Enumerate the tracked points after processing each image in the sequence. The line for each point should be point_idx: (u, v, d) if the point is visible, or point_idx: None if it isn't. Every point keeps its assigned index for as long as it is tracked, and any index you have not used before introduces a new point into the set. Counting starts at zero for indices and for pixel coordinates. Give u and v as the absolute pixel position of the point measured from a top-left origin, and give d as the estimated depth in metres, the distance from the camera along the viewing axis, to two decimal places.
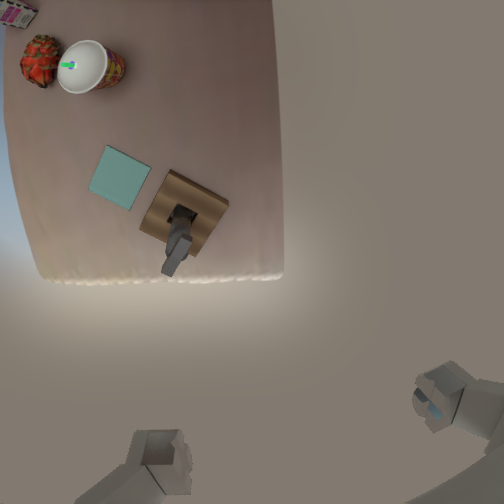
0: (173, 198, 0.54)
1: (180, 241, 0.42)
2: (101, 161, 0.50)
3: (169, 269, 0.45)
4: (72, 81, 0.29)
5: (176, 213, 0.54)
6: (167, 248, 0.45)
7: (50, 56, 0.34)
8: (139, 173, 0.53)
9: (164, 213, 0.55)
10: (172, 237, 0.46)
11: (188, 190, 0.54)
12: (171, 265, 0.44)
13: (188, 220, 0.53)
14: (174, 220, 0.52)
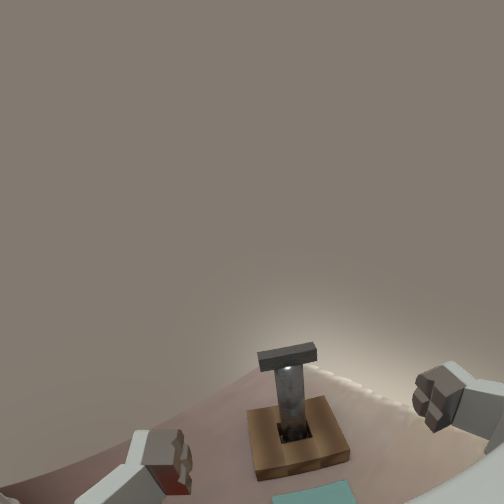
0: (280, 449, 0.34)
1: (264, 358, 0.34)
2: None
3: (305, 347, 0.35)
4: None
5: (290, 432, 0.36)
6: (291, 369, 0.33)
7: None
8: (288, 502, 0.27)
9: (305, 444, 0.34)
10: (282, 382, 0.34)
11: (259, 444, 0.36)
12: (298, 348, 0.35)
13: None
14: (289, 419, 0.35)
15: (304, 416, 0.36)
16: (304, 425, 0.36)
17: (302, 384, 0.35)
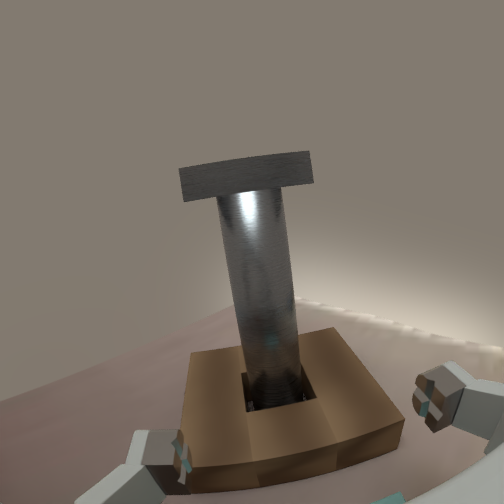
0: (241, 424, 0.16)
1: None
2: None
3: None
4: None
5: (264, 385, 0.17)
6: (253, 191, 0.15)
7: None
8: None
9: (300, 414, 0.16)
10: (234, 229, 0.15)
11: (198, 412, 0.17)
12: None
13: None
14: (260, 346, 0.17)
15: (296, 344, 0.17)
16: (297, 369, 0.18)
17: (285, 246, 0.16)
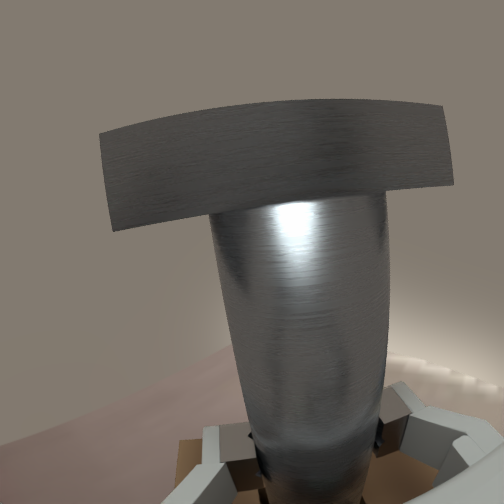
0: None
1: None
2: None
3: None
4: None
5: None
6: (326, 200, 0.04)
7: None
8: None
9: None
10: (264, 316, 0.05)
11: None
12: None
13: None
14: None
15: (363, 485, 0.07)
16: None
17: (386, 342, 0.06)
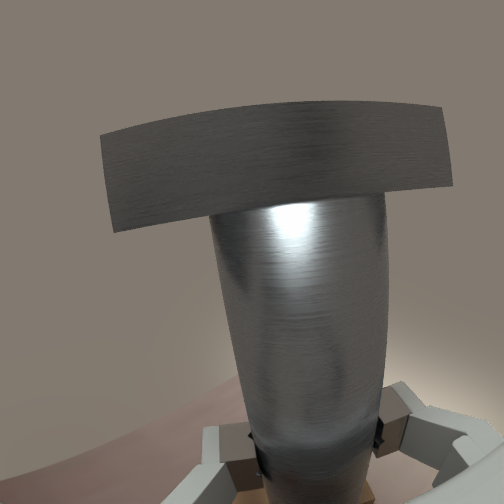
0: (265, 498, 0.19)
1: None
2: None
3: None
4: None
5: None
6: (326, 201, 0.05)
7: None
8: None
9: None
10: (263, 317, 0.05)
11: None
12: None
13: None
14: None
15: (363, 484, 0.07)
16: None
17: (385, 342, 0.06)
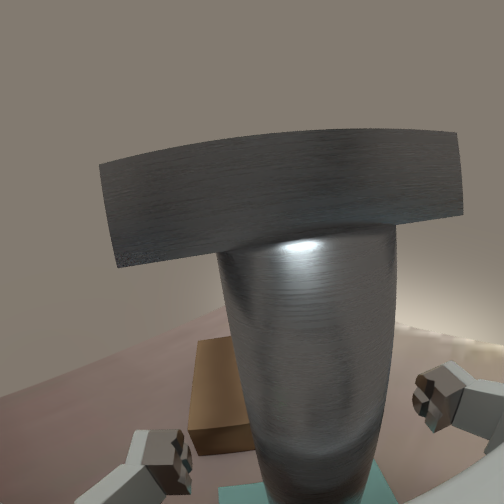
0: (241, 395, 0.20)
1: None
2: None
3: None
4: None
5: None
6: (338, 242, 0.04)
7: None
8: (251, 502, 0.13)
9: None
10: (272, 354, 0.05)
11: (205, 387, 0.22)
12: None
13: None
14: None
15: (362, 495, 0.07)
16: None
17: (389, 370, 0.06)
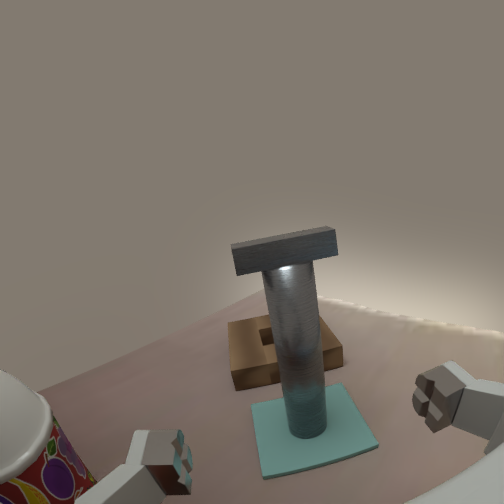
0: (261, 350, 0.35)
1: (241, 246, 0.19)
2: (303, 464, 0.19)
3: (314, 230, 0.20)
4: None
5: (298, 405, 0.21)
6: (292, 267, 0.19)
7: None
8: (271, 410, 0.27)
9: None
10: (278, 296, 0.19)
11: (237, 348, 0.36)
12: (303, 232, 0.20)
13: None
14: (296, 378, 0.21)
15: (322, 374, 0.22)
16: (323, 391, 0.22)
17: (315, 304, 0.20)
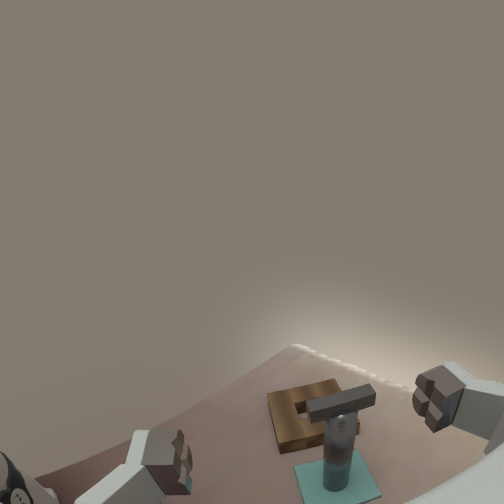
0: (299, 424, 0.41)
1: (316, 409, 0.25)
2: None
3: (362, 391, 0.26)
4: None
5: (334, 477, 0.28)
6: (346, 418, 0.25)
7: None
8: (309, 470, 0.34)
9: None
10: (334, 431, 0.26)
11: (280, 421, 0.42)
12: (355, 393, 0.26)
13: None
14: (336, 465, 0.27)
15: (351, 459, 0.28)
16: (350, 468, 0.28)
17: (355, 430, 0.26)
